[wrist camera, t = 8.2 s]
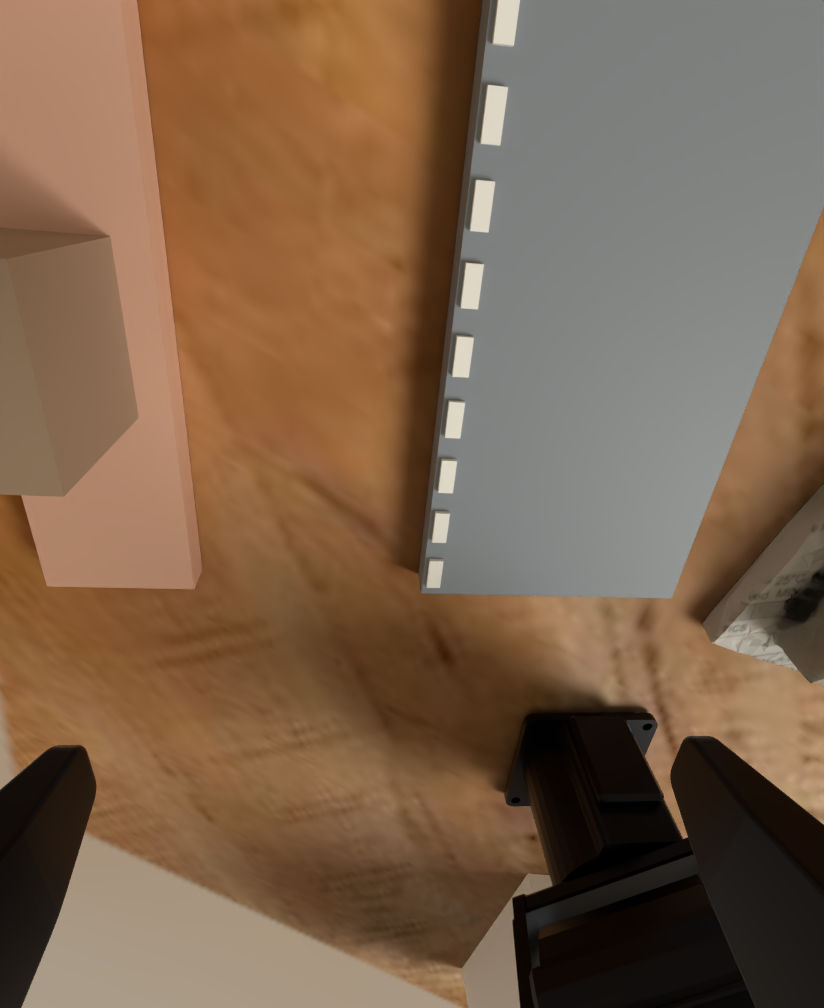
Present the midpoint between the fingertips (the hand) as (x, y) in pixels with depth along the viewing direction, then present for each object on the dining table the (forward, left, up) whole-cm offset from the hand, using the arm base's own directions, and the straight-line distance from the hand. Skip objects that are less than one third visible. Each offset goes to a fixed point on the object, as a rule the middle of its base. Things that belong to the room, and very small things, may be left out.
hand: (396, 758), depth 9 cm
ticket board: (+3, -7, -13) cm, 15 cm away
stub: (+3, +9, -12) cm, 16 cm away
